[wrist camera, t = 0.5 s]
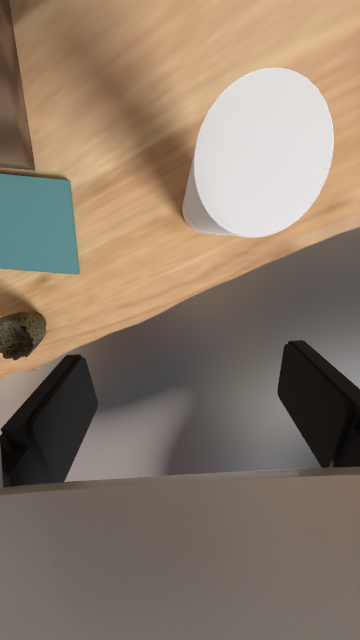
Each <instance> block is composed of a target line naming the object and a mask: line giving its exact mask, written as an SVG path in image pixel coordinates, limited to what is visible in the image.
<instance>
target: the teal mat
mask: <svg viewBox="0 0 360 640" xmlns="http://www.w3.org/2000/svg"><path fill="white" fill-rule="evenodd" d="M0 269H13V270H26V271H39V272H52V273H65V274H80V271H79V261H78V252H77V242H76V233H75V223H74V213H73V204H72V194H71V185H70V181H68V180H60V179H49V178H39V177H29V176H18V175H8V174H0Z"/></svg>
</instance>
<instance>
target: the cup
mask: <svg viewBox="0 0 360 640" xmlns="http://www.w3.org/2000/svg"><path fill="white" fill-rule="evenodd" d="M45 333H46V320H45V319H44V317H43V316H41V315H39V314H32V313H28V312H19V313H14V314H11V315H8V316H5V317H2V318H0V353H2V354H3V357H4V358H5V359H10V358H13V360H18V359H19V358H20V357H22V356H23V357H24V356H25V357H27V356H29V355H30V354H31V352H32V351H33V350H34V349H35V348H36V347H37V346H38V345H39V343H40V342H41V341H42V339H43V338H44V336H45Z"/></svg>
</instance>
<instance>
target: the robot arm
mask: <svg viewBox="0 0 360 640" xmlns="http://www.w3.org/2000/svg"><path fill="white" fill-rule="evenodd" d="M278 396H279V398H280V400H281V402H282V403H283V405H284V406H285V408H286V410H287V411H288V412H289V415H290V416H291V418H292V419H293V421H294V423H295V424H296V426H297V428H298V429H299V431H300V433H301V434H302V436H303V438H304V439H305V441H306V442H307V444H308V446H309V447H310V449H311V451H312V452H313V454H314V455H315V457H316V459H317V460H318V462H319V464H320V465H321V467H322V468H307V469H287V470H266V471H246V472H227V473H208V474H190V475H173V476H154V477H138V478H122V479H105V480H89V481H72V482H64V481H65V479H66V476H67V474H68V472H69V470H70V468H71V466H72V463H73V461H74V459H75V456H76V454H77V452H78V450H79V448H80V445H81V443H82V441H83V438H84V437H85V434H86V432H87V430H88V428H89V425H90V423H91V421H92V418H93V416H94V414H95V412H96V410H97V406H98V401H97V397H96V394H95V390H94V387H93V383H92V380H91V376H90V373H89V369H88V366H87V362H86V359H85V358H84V357H82V356H81V355H79V354H78V355H66V356H65V357H64V358H63V359H62V361H61V362H60V363H59V364H58V365H57V366H56V367H55V368H54V370H53V371H52V372H51V373H50V374H49V375H48V377H47V378H46V379H45V380H44V381H43V382H42V383H41V384H40V385H39V387H38V388H37V389H36V390H35V391H34V392H33V394H31V396H30V397H29V398H28V399H27V400H26V401H25V402H24V403H23V405H22V406H21V407H20V408H19V409H18V410H17V411H16V412H15V414H14V415H13V416H12V417H11V418H10V419H9V420H8V422H7V423H6V424H5V425H4V426H3V427H2V428H1V431H2V434H1V436H0V640H360V389H359V388H358V387H357V386H355V385H354V384H353V383H352V382H351V381H350V380H348V379H347V378H346V377H345V376H344V375H343V374H342V373H340V372H339V371H338V370H337V369H336V368H335V367H333V366H332V365H331V364H330V363H329V362H328V361H327V360H326V359H324V358H323V357H322V356H321V355H320V354H319V353H317V352H316V351H315V350H314V349H313V348H312V347H311V346H309V345H308V344H307V343H306V342H305V341H303V340H299V341H289V342H288V344H286V345H285V346H284V351H283V358H282V364H281V370H280V377H279V384H278Z"/></svg>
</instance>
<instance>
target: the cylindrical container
mask: <svg viewBox="0 0 360 640" xmlns="http://www.w3.org/2000/svg"><path fill="white" fill-rule="evenodd" d="M333 146H334V132H333V125H332V118H331V115H330V112H329V109H328V106H327V103H326V101H325V99H324V98H323V96H322V95H321V93H320V92H319V90H318V88H317V87H316V86H315V85H314V84H313V83H311V82H310V81H309V80H308V79H307V78H306V77H305V76H303V75H301V74H299V73H297V72H295V71H293V70H289V69H284V68H279V67H276V68H263V69H260V70H257V71H254V72H251V73H248V74H246V75H245V76H243V77H241V78H240V79H238V80H236V81H235V82H233V83H232V84H231V85H230V86H229V87H228V88H227V89H226V90H225V91H224V92H223V93H222V94H220V96H219V97H218V98H217V100H216V101H215V103H214V104H213V105H212V107H211V108H210V110H209V111H208V113H207V115H206V118H205V120H204V122H203V124H202V126H201V129H200V132H199V136H198V139H197V143H196V147H195V151H194V156H193V160H192V165H191V169H190V174H189V178H188V183H187V187H186V192H185V196H184V201H183V207H182V211H183V217H184V219H185V222H186V223H187V225H188V226H189V227H190V228H191V229H193V230H194V231H196V232H200V233H209V234H220V235H231V236H242V237H263V236H267V235H271V234H274V233H277V232H279V231H281V230H283V229H285V228H287V227H288V226H290V225H291V224H292V223H294V222H295V221H297V220H298V219H299V218H300V217H301V216H302V215H303V214H304V213H305V212H306V211H307V210H308V209H309V208H310V206H311V205H312V204H313V202H314V201H315V199H316V198H317V197H318V195H319V193H320V191H321V189H322V187H323V185H324V183H325V181H326V178H327V175H328V172H329V169H330V166H331V161H332V156H333Z"/></svg>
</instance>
